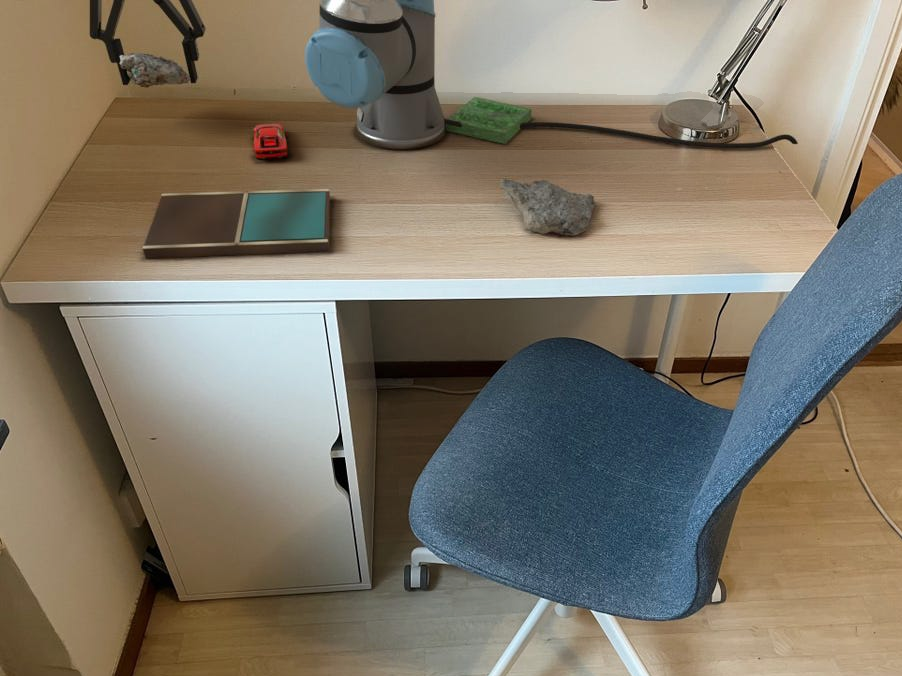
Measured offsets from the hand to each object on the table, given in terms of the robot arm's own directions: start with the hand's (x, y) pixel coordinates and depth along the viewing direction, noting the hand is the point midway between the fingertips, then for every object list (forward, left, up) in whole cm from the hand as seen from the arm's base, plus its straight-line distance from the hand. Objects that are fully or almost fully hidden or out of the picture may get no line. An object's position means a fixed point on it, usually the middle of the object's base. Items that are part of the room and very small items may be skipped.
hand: (161, 81), depth 130 cm
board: (-16, +37, -7) cm, 41 cm away
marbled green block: (-55, +4, -7) cm, 56 cm away
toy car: (-18, +11, -7) cm, 22 cm away
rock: (-60, +36, -7) cm, 70 cm away
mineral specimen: (0, 0, 0) cm, 0 cm away
